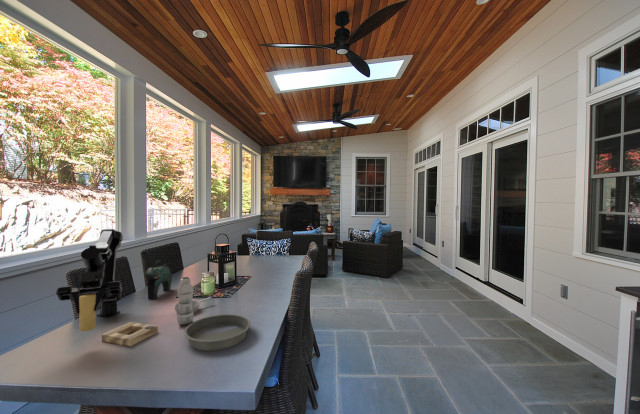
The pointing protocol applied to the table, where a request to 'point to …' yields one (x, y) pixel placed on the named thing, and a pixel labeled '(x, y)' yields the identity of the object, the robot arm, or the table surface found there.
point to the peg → (87, 312)
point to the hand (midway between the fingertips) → (86, 311)
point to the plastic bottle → (185, 302)
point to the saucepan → (194, 304)
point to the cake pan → (219, 338)
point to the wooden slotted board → (128, 340)
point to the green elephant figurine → (158, 280)
